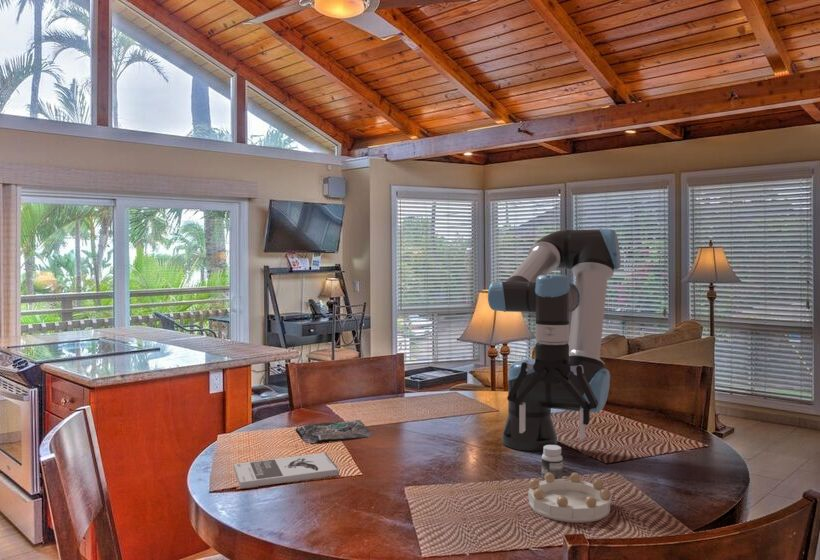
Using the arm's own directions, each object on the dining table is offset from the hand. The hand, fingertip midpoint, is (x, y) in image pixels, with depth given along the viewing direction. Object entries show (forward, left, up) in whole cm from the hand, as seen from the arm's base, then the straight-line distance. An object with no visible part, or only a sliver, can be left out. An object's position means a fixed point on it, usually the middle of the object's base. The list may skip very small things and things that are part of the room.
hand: (551, 435), depth 145 cm
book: (-61, -18, -12) cm, 65 cm away
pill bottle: (0, 0, -11) cm, 11 cm away
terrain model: (-67, +16, -12) cm, 70 cm away
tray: (+6, -12, -11) cm, 17 cm away
